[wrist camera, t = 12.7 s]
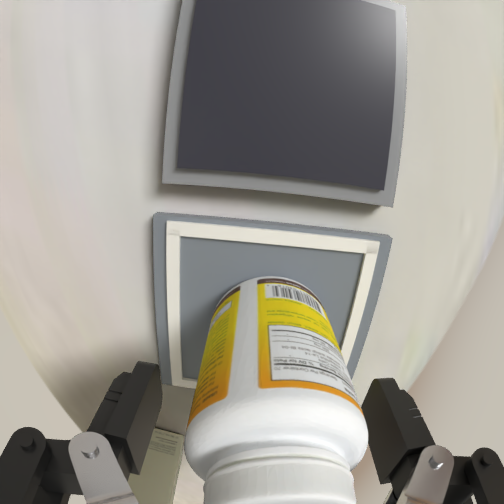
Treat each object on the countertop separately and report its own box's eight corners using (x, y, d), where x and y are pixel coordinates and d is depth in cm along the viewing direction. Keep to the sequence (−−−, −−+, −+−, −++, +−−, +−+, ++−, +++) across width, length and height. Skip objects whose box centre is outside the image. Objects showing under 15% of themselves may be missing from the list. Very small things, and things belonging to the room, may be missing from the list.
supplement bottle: (231, 373, 16) (213, 550, 7) (197, 286, 14) (124, 483, 5) (332, 352, 16) (381, 528, 6) (315, 258, 14) (399, 453, 4)
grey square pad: (164, 377, 17) (161, 385, 16) (157, 212, 14) (151, 215, 13) (343, 390, 17) (345, 399, 17) (387, 234, 14) (394, 239, 13)
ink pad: (168, 180, 13) (159, 184, 12) (191, -16, 10) (186, -28, 9) (384, 203, 14) (395, 208, 12) (397, 12, 10) (408, 3, 9)
